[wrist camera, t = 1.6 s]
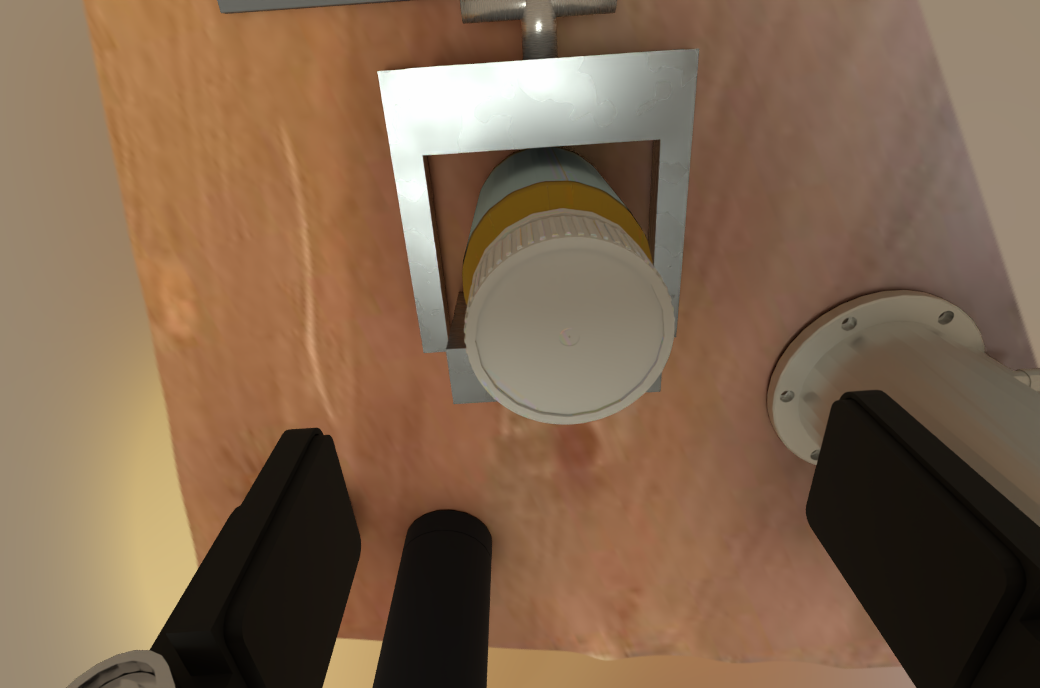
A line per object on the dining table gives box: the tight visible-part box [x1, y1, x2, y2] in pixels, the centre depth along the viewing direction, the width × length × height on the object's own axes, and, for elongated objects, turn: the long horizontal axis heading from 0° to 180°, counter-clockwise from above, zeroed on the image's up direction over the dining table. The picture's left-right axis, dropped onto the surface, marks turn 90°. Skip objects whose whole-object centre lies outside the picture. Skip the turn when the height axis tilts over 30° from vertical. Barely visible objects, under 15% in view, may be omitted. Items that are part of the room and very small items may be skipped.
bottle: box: [462, 147, 675, 424], centre depth 22 cm, size 7×7×15 cm
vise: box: [377, 0, 699, 404], centre depth 25 cm, size 14×17×7 cm
